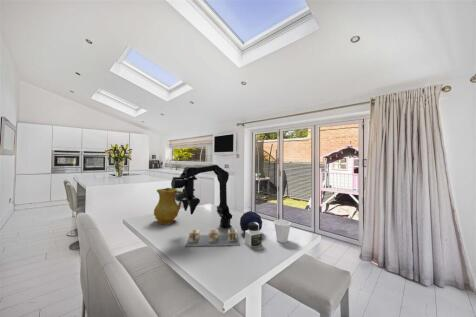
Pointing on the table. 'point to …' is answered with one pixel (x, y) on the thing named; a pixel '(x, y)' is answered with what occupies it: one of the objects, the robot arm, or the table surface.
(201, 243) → the mat
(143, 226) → the table surface
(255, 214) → the decorative orb
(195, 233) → the marked block
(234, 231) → the marked block
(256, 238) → the medicine bottle
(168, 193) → the pitcher
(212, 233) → the plain block
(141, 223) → the table surface
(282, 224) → the cup
